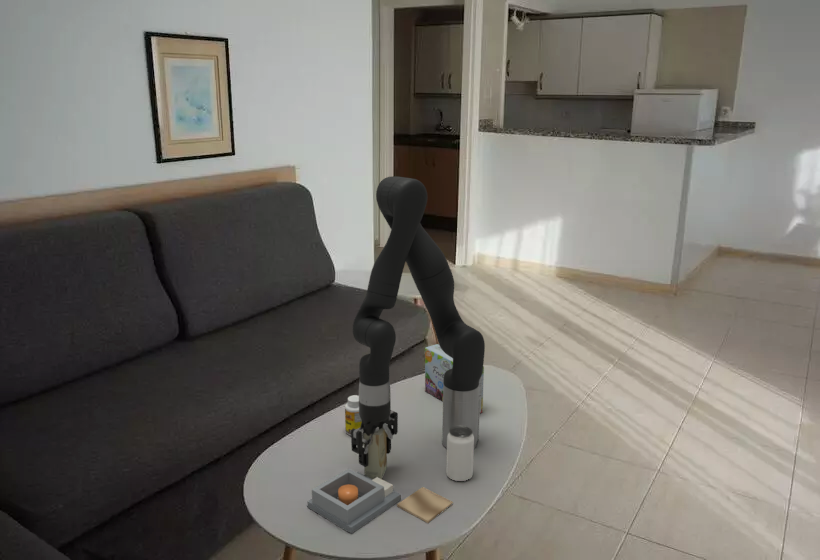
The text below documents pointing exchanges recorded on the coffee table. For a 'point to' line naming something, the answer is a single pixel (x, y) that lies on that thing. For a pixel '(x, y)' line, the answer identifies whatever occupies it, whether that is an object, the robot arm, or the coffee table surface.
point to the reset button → (347, 494)
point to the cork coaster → (424, 504)
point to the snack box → (442, 373)
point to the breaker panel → (361, 511)
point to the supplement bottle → (352, 414)
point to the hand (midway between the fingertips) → (375, 458)
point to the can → (460, 453)
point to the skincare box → (376, 455)
